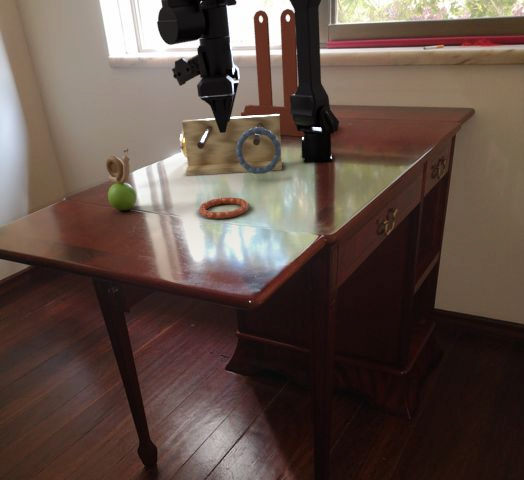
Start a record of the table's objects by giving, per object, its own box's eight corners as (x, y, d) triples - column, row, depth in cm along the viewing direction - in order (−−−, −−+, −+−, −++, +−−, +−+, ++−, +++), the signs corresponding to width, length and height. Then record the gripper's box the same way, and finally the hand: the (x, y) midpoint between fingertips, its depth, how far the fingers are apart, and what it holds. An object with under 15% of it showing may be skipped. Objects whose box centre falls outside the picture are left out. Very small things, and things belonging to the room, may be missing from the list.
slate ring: (281, 171, 120) (279, 125, 115) (281, 173, 119) (279, 127, 114) (238, 173, 121) (234, 128, 116) (238, 175, 120) (234, 129, 115)
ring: (188, 163, 136) (183, 129, 132) (178, 162, 138) (173, 128, 134) (207, 156, 141) (203, 123, 136) (197, 155, 143) (193, 122, 138)
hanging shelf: (337, 126, 159) (338, 4, 142) (316, 137, 150) (314, 7, 134) (266, 122, 171) (259, 8, 154) (242, 132, 162) (232, 12, 145)
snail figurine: (129, 216, 107) (116, 152, 100) (105, 212, 110) (91, 150, 103) (148, 207, 110) (136, 145, 104) (124, 203, 114) (112, 143, 107)
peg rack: (281, 162, 131) (279, 113, 125) (280, 184, 117) (278, 130, 111) (190, 168, 133) (183, 119, 127) (178, 190, 119) (170, 136, 113)
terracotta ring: (249, 195, 109) (246, 212, 101) (250, 201, 109) (246, 218, 102) (202, 197, 110) (195, 214, 102) (203, 203, 110) (196, 220, 102)
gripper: (179, 36, 109) (191, 119, 118) (161, 46, 94) (177, 142, 103) (235, 31, 108) (243, 115, 117) (227, 41, 93) (236, 137, 102)
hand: (224, 126), depth 110 cm, fingers open, 9 cm apart
